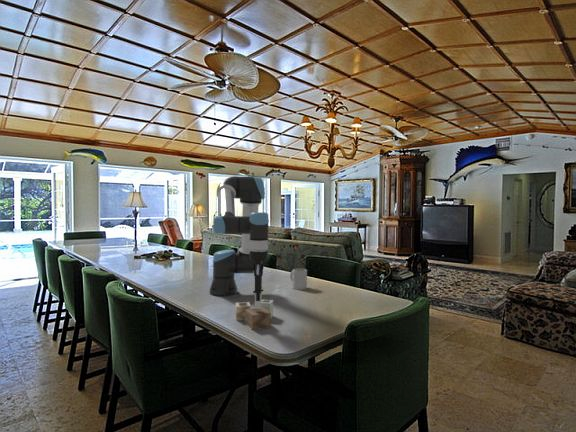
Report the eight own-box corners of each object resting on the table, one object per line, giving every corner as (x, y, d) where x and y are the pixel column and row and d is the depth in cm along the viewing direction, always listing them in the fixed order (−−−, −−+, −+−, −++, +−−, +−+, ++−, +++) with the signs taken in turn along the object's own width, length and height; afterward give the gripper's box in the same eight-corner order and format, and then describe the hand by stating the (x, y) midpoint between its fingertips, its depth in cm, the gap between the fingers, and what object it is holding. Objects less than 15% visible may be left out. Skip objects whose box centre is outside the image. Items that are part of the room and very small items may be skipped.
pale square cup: (258, 318, 148) (258, 302, 148) (262, 315, 153) (262, 299, 152) (269, 319, 147) (270, 303, 146) (273, 316, 152) (273, 299, 151)
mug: (309, 288, 203) (310, 269, 203) (299, 290, 197) (299, 271, 197) (295, 284, 212) (295, 267, 211) (285, 286, 206) (285, 268, 206)
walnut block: (252, 330, 134) (252, 315, 134) (245, 323, 141) (245, 309, 141) (270, 327, 138) (270, 312, 138) (262, 321, 145) (263, 307, 145)
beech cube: (236, 320, 145) (236, 306, 145) (235, 316, 151) (235, 302, 151) (250, 319, 146) (250, 305, 146) (249, 315, 152) (249, 301, 152)
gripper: (267, 252, 132) (266, 313, 133) (268, 248, 145) (267, 303, 146) (248, 252, 132) (247, 313, 133) (250, 248, 145) (250, 303, 146)
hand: (258, 308), depth 139 cm, fingers closed
